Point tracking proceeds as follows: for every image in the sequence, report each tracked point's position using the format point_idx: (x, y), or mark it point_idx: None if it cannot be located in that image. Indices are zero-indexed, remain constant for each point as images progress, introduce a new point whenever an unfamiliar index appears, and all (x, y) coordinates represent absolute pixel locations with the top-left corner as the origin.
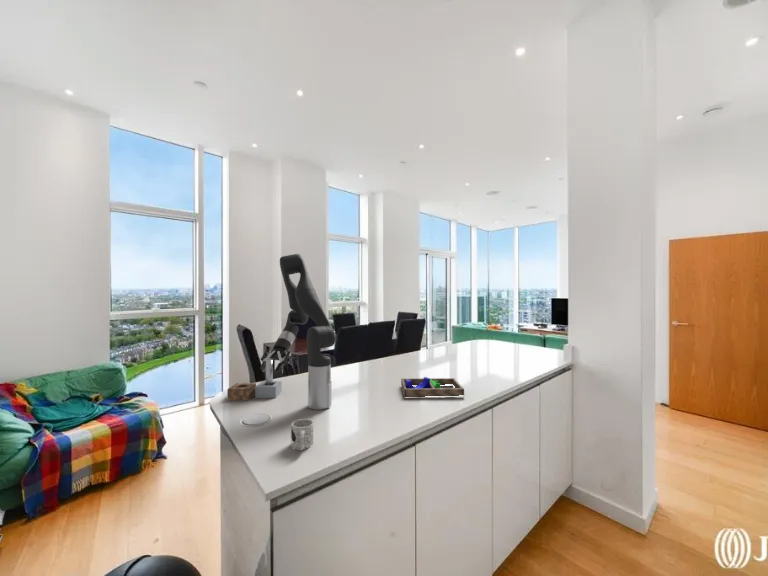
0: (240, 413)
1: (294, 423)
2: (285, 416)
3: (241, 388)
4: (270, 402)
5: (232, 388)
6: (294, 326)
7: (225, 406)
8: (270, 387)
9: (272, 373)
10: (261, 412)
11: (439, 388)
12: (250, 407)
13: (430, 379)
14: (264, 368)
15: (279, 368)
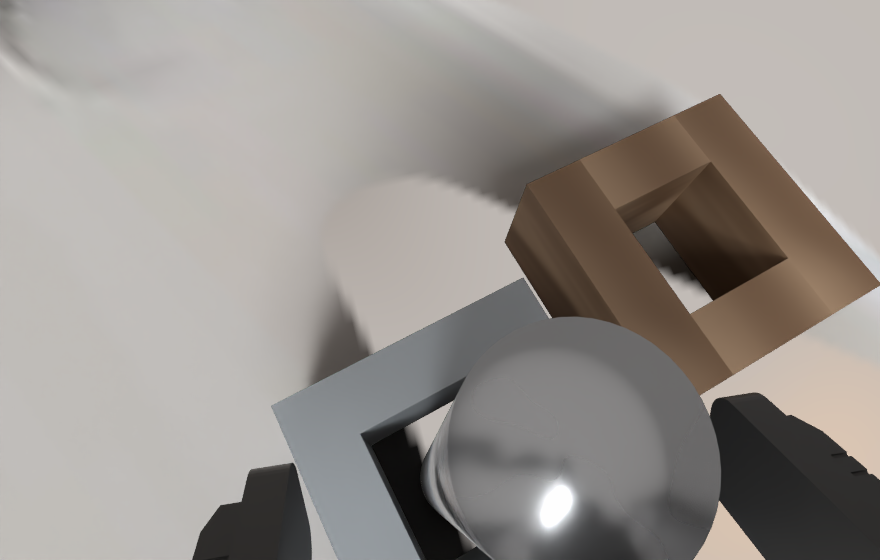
0: (303, 29)
1: None
2: None
3: (610, 163)
4: (254, 295)
5: (696, 125)
6: None
7: (539, 74)
8: (341, 371)
9: (437, 503)
10: (157, 97)
11: None
12: (332, 134)
13: None
14: (739, 518)
15: (202, 546)
